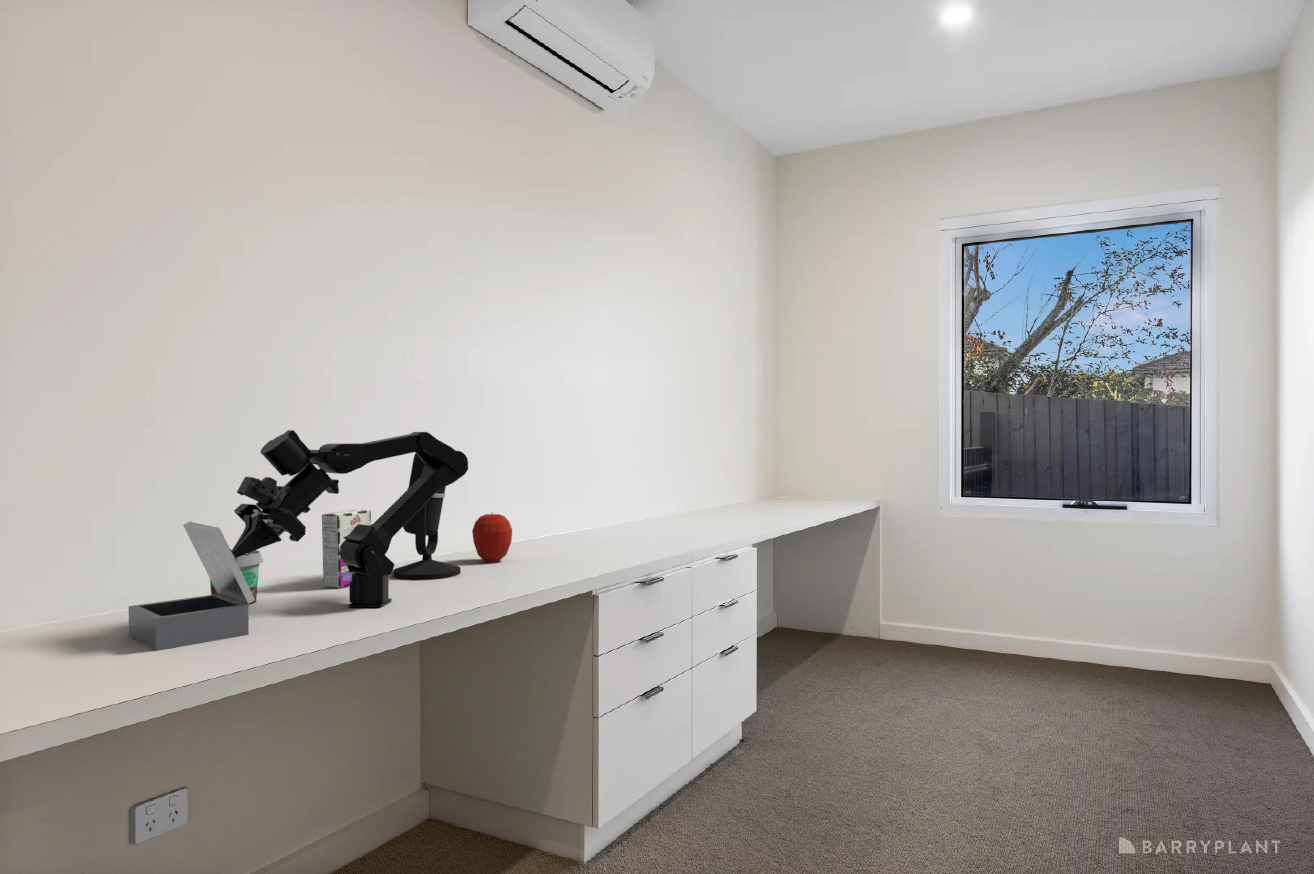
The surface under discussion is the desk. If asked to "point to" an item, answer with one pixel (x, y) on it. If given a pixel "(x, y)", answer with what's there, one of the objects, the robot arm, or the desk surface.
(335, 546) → the candy bar box
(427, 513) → the microphone
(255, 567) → the food container
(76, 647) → the desk surface
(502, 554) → the apple
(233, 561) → the lid
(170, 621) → the grey storage bin
